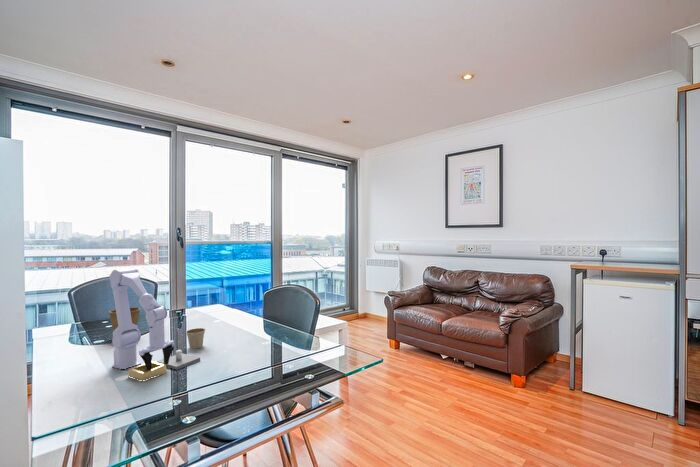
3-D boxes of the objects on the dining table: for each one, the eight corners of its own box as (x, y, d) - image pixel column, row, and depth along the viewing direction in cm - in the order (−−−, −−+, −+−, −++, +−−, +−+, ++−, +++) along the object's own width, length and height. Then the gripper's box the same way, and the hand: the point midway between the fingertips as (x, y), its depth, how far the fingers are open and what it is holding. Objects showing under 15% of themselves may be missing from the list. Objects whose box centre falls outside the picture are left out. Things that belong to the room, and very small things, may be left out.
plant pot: (129, 341, 192) (129, 312, 192) (103, 341, 192) (102, 313, 192) (146, 333, 207) (145, 306, 207) (121, 333, 207) (121, 307, 207)
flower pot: (184, 351, 174) (184, 334, 174) (187, 345, 183) (187, 329, 183) (204, 349, 177) (204, 332, 177) (206, 343, 186) (206, 327, 186)
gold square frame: (128, 377, 143) (128, 369, 143) (152, 368, 152) (152, 361, 152) (142, 382, 138) (142, 373, 138) (166, 373, 147) (166, 365, 147)
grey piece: (157, 364, 157) (156, 352, 157) (181, 356, 167) (180, 344, 167) (176, 370, 150) (176, 357, 150) (200, 360, 160) (199, 349, 160)
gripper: (145, 341, 140) (146, 374, 140) (178, 332, 153) (179, 362, 153) (135, 339, 144) (136, 371, 144) (168, 330, 157) (169, 359, 157)
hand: (157, 366), depth 149 cm, fingers open, 7 cm apart
